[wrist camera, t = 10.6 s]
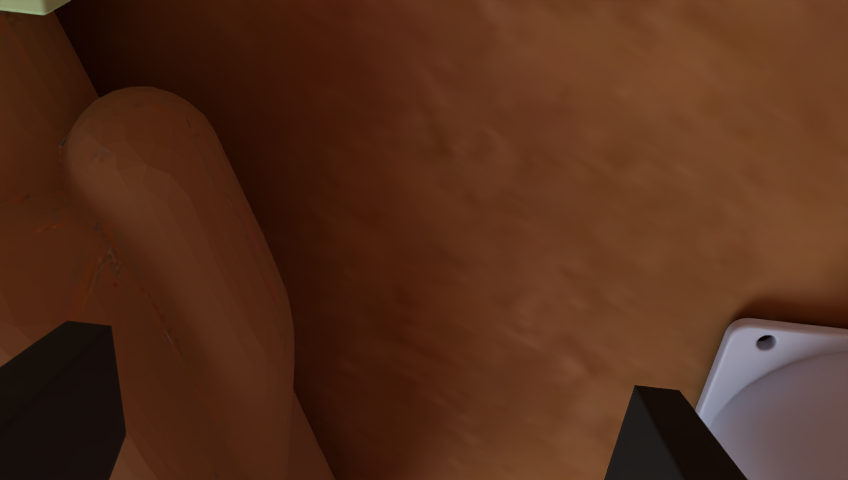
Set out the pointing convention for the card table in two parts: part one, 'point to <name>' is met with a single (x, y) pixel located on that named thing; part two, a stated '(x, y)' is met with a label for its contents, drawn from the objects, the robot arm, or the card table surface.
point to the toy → (145, 266)
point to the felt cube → (31, 6)
